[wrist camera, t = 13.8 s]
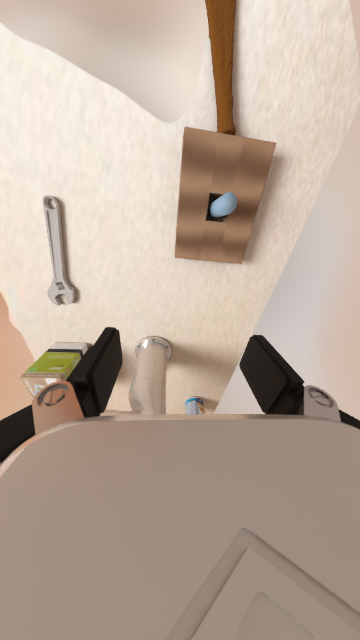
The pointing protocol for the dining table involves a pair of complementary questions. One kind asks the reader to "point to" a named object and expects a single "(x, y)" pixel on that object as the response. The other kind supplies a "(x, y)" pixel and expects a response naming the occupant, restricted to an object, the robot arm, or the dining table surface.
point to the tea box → (53, 365)
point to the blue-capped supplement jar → (194, 406)
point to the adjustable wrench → (57, 254)
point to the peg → (222, 205)
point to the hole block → (219, 193)
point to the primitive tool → (222, 59)
